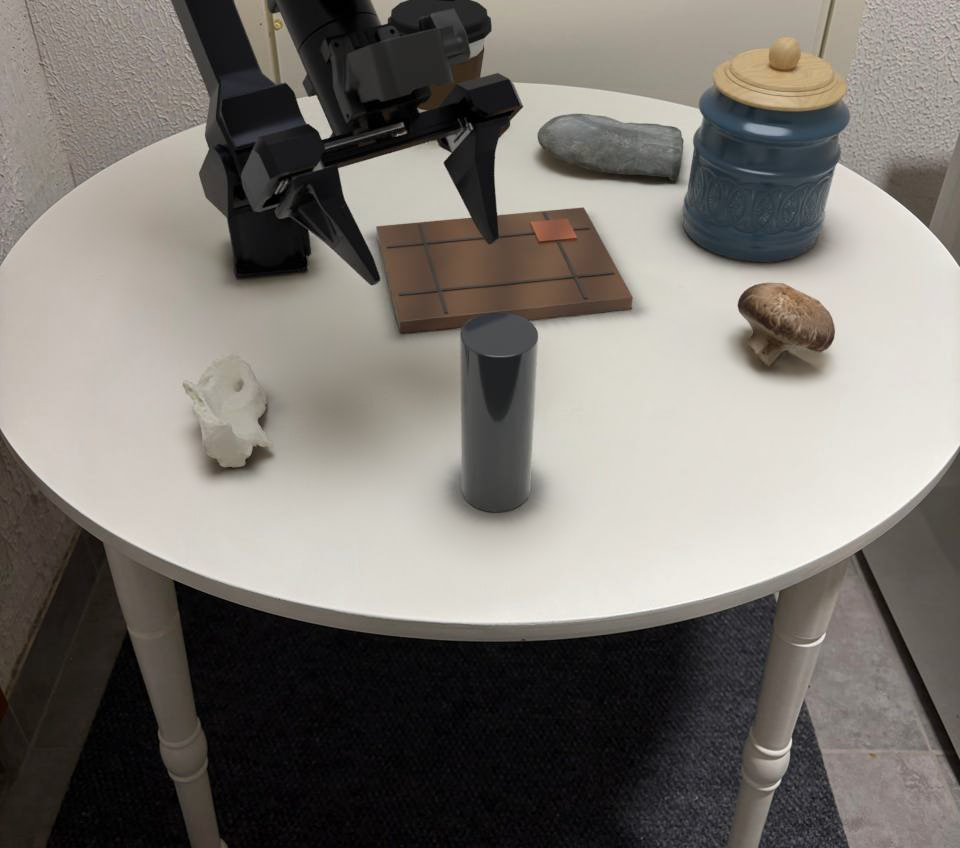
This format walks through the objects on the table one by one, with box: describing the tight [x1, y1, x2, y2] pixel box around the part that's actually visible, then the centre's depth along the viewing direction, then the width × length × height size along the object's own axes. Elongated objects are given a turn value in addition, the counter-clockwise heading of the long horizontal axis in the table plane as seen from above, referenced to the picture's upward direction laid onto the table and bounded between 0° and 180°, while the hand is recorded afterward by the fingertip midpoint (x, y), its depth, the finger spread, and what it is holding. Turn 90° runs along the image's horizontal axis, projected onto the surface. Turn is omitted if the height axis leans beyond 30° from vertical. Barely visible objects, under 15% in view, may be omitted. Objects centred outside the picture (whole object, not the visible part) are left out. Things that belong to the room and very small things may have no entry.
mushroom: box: [737, 282, 836, 367], centre depth 84 cm, size 8×8×6 cm
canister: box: [682, 36, 851, 263], centre depth 93 cm, size 13×13×18 cm
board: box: [375, 207, 634, 334], centre depth 93 cm, size 20×16×1 cm
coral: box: [182, 352, 274, 469], centre depth 76 cm, size 6×10×4 cm, turn 18°
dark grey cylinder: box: [459, 313, 539, 513], centre depth 69 cm, size 5×5×13 cm
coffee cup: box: [386, 0, 493, 113], centre depth 112 cm, size 11×11×12 cm
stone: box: [537, 113, 685, 181], centre depth 109 cm, size 11×4×15 cm
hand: (436, 262), depth 69 cm, fingers open, 9 cm apart
